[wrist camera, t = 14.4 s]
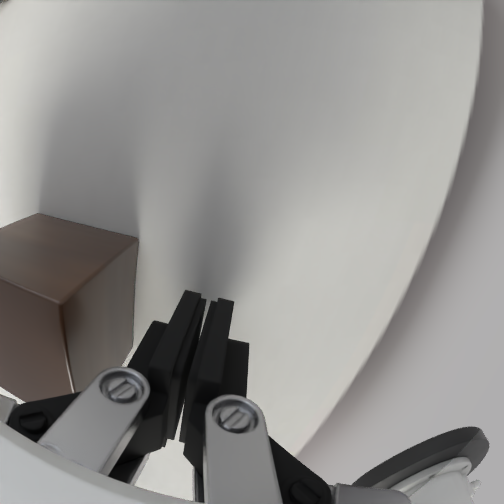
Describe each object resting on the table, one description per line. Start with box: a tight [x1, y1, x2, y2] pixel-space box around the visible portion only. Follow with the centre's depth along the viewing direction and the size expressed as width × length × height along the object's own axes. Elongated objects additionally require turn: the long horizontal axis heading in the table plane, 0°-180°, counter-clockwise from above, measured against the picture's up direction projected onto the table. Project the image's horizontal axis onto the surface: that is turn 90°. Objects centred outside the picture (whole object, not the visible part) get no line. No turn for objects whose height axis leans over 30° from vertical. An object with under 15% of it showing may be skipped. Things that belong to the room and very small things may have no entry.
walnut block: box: [0, 213, 139, 402], centre depth 8 cm, size 5×5×5 cm
